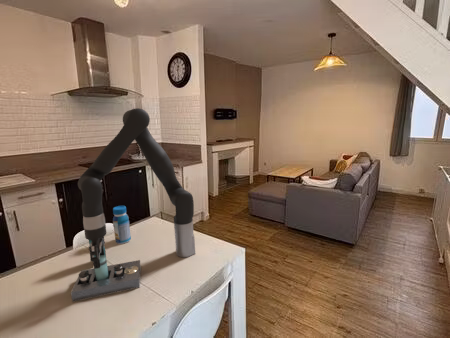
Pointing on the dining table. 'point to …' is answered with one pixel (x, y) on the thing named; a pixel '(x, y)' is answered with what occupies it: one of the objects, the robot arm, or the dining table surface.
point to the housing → (108, 282)
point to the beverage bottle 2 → (121, 225)
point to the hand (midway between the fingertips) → (99, 262)
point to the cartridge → (102, 269)
